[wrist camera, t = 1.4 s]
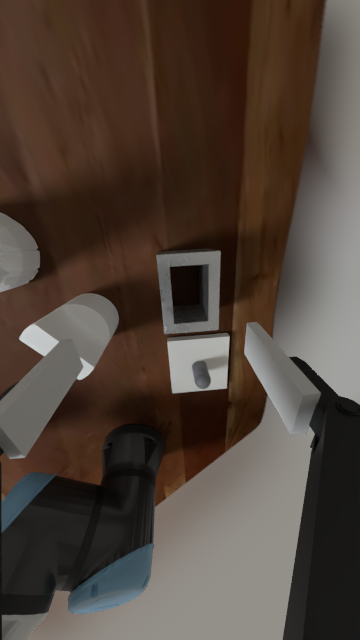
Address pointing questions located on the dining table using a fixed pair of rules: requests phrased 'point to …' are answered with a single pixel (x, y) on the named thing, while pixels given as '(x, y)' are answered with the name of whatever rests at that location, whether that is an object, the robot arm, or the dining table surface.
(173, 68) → the dining table surface
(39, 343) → the cylinder with rectangular tab
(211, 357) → the keeper board
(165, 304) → the steel link
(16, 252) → the decorative vase
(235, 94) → the dining table surface
